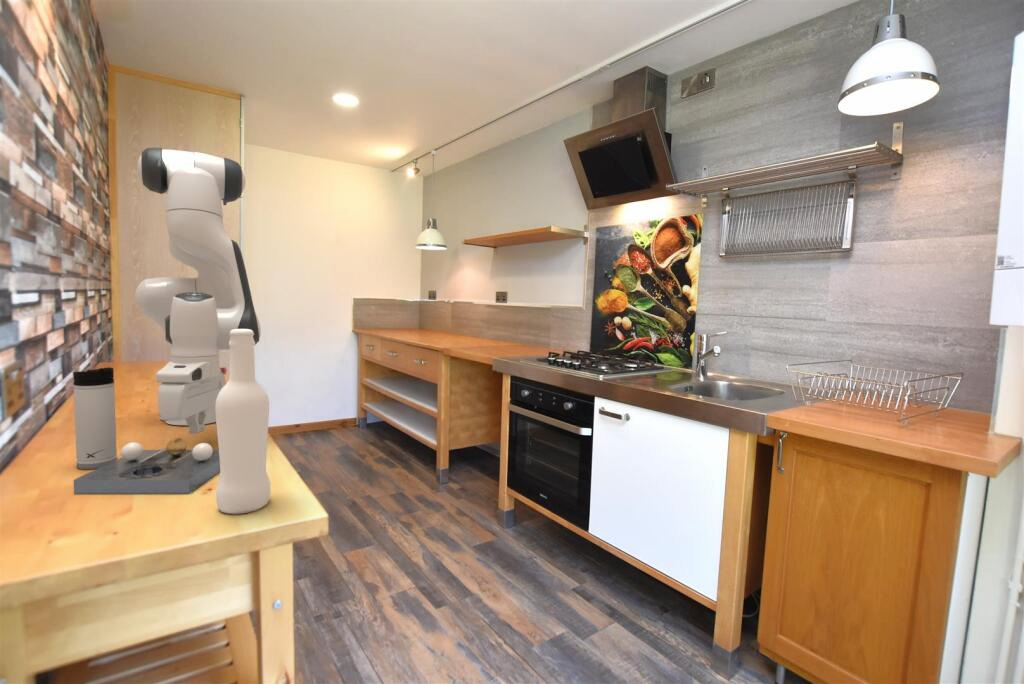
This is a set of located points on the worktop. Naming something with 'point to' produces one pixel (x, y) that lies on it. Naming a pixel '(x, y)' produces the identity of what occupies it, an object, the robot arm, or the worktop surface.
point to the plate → (150, 474)
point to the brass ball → (176, 447)
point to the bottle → (242, 432)
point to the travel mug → (95, 418)
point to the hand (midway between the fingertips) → (197, 432)
